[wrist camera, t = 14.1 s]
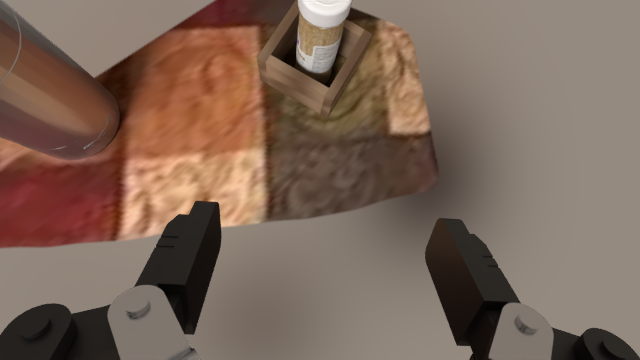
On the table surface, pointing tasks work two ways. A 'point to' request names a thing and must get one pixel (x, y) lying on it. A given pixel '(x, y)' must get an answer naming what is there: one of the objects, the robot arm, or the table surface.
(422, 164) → the table surface
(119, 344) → the robot arm
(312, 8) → the sprinkles bottle
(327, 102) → the open square sleeve
